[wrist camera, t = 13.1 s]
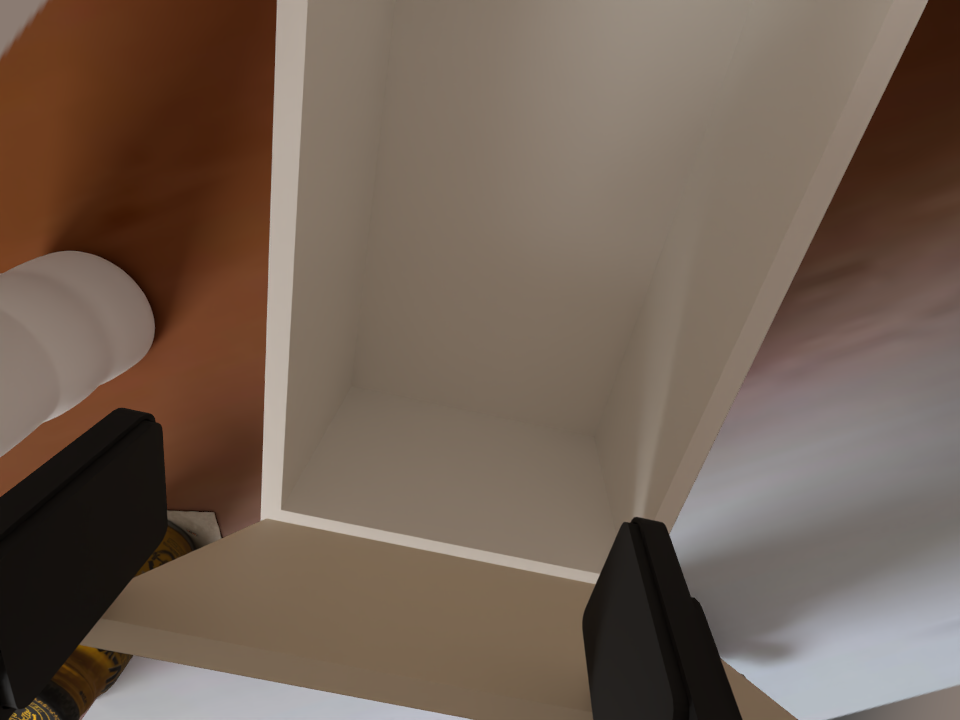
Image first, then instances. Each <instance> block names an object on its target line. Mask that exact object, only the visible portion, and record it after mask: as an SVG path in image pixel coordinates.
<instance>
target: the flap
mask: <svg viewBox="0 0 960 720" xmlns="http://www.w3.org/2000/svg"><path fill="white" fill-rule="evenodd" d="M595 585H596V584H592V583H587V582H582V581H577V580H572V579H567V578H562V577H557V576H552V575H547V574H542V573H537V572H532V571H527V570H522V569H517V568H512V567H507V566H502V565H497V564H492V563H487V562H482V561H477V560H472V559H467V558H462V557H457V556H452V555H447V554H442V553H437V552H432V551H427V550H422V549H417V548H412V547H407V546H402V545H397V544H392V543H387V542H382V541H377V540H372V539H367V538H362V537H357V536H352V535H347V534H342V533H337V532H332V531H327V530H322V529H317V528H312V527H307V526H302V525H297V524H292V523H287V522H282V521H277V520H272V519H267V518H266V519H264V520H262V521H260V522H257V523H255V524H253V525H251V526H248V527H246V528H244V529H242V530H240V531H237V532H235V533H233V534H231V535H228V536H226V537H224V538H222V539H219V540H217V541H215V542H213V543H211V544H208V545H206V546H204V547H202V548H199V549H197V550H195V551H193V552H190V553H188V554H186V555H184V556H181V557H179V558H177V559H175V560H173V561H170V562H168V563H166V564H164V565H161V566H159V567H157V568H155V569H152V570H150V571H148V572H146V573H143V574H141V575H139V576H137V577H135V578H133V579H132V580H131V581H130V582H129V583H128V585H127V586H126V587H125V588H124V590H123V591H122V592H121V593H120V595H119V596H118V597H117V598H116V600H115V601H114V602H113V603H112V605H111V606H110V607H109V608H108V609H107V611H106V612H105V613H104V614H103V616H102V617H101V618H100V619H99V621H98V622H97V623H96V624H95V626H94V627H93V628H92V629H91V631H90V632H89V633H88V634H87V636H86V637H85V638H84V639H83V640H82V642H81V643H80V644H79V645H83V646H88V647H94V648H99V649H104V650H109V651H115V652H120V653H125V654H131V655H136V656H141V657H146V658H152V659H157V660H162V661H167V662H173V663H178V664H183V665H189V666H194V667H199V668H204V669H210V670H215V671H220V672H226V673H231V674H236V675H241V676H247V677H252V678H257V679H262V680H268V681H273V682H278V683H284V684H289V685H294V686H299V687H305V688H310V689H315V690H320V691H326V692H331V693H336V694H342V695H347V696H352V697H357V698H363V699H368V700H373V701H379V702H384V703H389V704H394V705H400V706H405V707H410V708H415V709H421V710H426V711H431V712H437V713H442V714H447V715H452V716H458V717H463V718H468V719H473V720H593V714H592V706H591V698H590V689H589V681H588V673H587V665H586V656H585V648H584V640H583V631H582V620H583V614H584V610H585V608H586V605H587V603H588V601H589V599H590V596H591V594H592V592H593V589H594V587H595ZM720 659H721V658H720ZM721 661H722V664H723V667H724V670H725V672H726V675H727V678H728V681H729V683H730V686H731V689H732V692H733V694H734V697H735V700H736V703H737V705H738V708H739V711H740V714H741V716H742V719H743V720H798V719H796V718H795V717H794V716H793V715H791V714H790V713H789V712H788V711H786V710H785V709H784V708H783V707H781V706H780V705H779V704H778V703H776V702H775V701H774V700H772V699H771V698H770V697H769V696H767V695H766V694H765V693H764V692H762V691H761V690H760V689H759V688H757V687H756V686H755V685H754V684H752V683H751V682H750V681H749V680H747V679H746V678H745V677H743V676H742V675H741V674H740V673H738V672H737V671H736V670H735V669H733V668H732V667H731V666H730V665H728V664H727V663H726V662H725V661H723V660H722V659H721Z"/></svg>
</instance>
